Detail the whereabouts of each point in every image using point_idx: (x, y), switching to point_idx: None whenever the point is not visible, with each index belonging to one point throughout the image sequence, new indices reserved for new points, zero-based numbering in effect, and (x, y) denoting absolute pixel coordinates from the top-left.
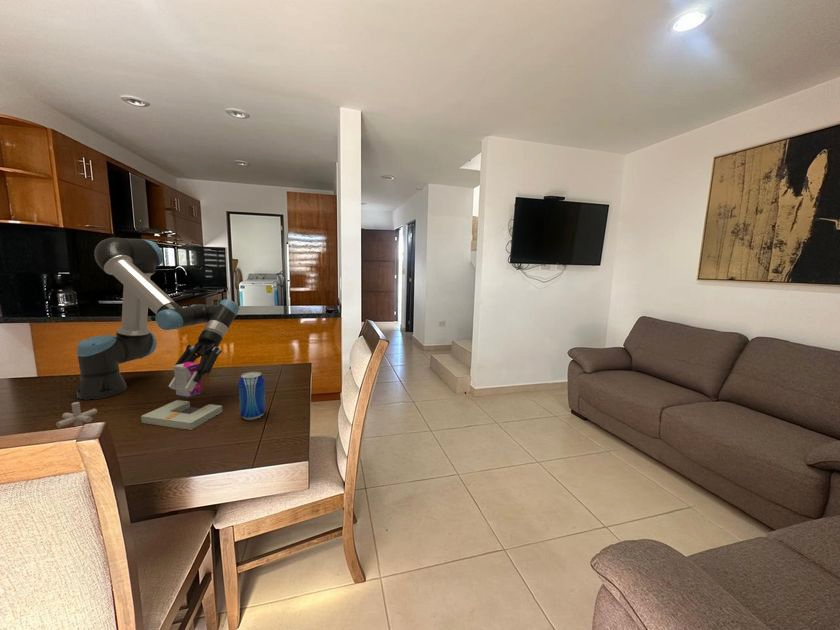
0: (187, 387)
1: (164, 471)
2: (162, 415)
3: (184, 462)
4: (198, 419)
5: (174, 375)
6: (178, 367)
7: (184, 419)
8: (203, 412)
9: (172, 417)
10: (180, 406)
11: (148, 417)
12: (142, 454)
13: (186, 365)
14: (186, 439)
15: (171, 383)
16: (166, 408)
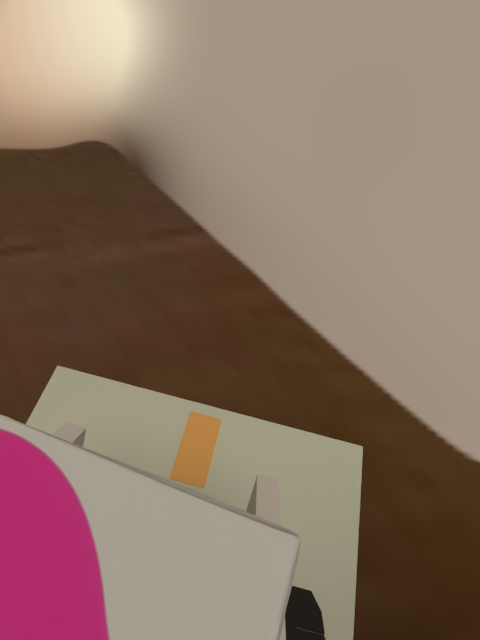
0: (59, 430)
1: (50, 165)
2: (257, 455)
3: (8, 191)
4: (33, 414)
5: (316, 633)
6: (169, 481)
7: (107, 404)
8: None
9: (186, 429)
10: None
11: (314, 434)
12: (162, 234)
13: (16, 574)
14: (56, 307)
15: (261, 496)
16: (304, 563)
